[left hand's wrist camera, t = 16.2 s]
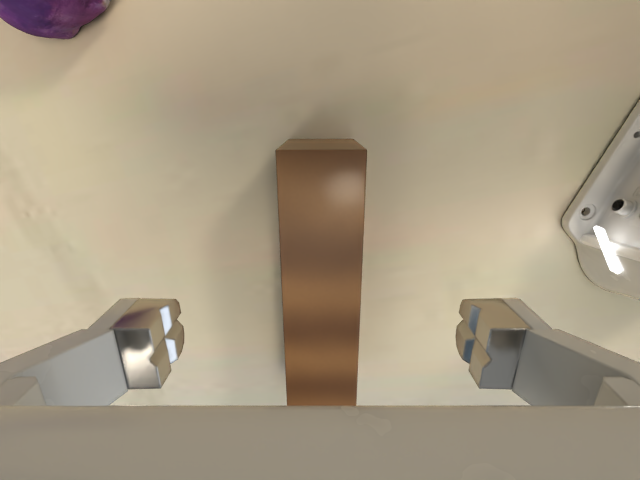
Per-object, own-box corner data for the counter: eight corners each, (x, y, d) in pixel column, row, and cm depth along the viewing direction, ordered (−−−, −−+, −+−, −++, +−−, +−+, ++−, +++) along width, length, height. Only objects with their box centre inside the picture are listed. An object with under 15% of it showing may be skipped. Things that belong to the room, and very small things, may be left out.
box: (288, 139, 33) (275, 149, 24) (354, 139, 33) (367, 149, 24) (295, 365, 42) (288, 438, 33) (347, 365, 42) (354, 438, 33)
